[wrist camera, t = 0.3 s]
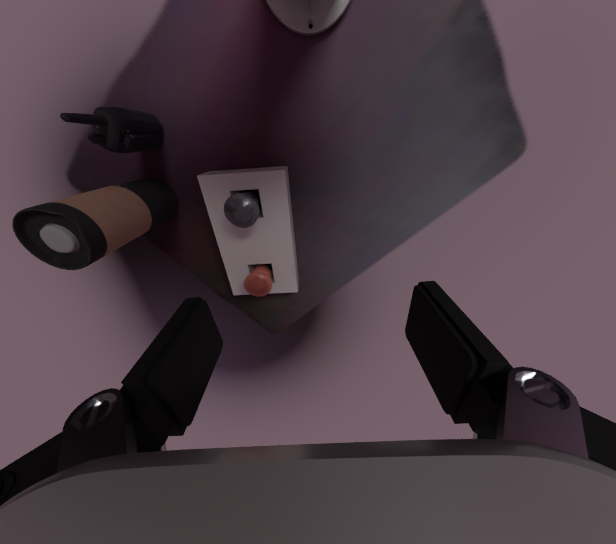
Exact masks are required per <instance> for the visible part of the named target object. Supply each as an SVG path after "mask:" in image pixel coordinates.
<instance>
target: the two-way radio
mask: <svg viewBox="0 0 616 544" xmlns="http://www.w3.org/2000/svg"><path fill="white" fill-rule="evenodd" d="M60 117H61V119H63V120H64V121H66V122H73V123H81V124H92V134H89V135H88V139H89V140H90V141H91V142H92V143H95V144H98V145H100V146H101V147H103V148H105V149H107V150H109V151H112V152H117V153H131V152H139V151H145V150H151V149H155V148H157V147H159V145H160V142H161V138H162V126H161V123H160V122H159V121H158V119H157V118H156V117H154V116H153V115H151V114H148V113H143V112H139V111H134V110H127V109H123V108H118V107H98V108H96V109H95V111H94V114H93V115H91V114H77V113H61V115H60Z"/></svg>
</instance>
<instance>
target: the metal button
mask: <svg viewBox="0 0 616 544" xmlns="http://www.w3.org/2000/svg"><path fill="white" fill-rule="evenodd" d="M259 207H260V204H259V200H258V198H257V197H256V196H255V195H254V194H252V193H250V192H243V193H236V194H233V195H231V196H230V197H229V198H228V199H227V200H226V202H225V204H224V213H225V216H226V218H227V219H228V221H229V222H230V223H232V224H233V225H235V226H237V227H240V228H248V227H250V226H252V225H253V224H254V223H255V222H256V221H257V219H258V216H259Z"/></svg>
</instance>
